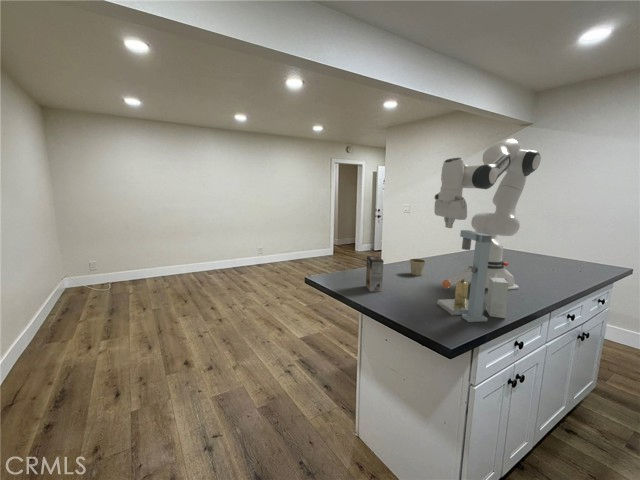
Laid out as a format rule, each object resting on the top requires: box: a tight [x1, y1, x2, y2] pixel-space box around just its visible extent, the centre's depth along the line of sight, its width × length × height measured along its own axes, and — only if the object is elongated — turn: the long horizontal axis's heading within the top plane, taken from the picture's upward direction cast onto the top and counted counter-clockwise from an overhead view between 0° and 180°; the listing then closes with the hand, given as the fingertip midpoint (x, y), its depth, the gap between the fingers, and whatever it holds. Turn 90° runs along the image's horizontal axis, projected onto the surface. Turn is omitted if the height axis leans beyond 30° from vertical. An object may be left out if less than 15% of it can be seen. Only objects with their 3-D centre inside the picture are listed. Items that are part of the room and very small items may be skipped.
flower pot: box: [409, 258, 427, 277], centre depth 180 cm, size 9×9×9 cm
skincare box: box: [485, 277, 509, 319], centre depth 123 cm, size 8×6×15 cm
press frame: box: [459, 229, 491, 323], centre depth 121 cm, size 8×15×34 cm, turn 7°
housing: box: [454, 278, 469, 307], centre depth 128 cm, size 5×5×12 cm
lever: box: [441, 265, 477, 289], centre depth 115 cm, size 14×3×3 cm, turn 96°
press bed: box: [437, 298, 485, 316], centre depth 129 cm, size 14×12×2 cm
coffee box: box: [365, 255, 384, 292], centre depth 151 cm, size 9×6×16 cm
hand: (448, 227), depth 132 cm, fingers closed
